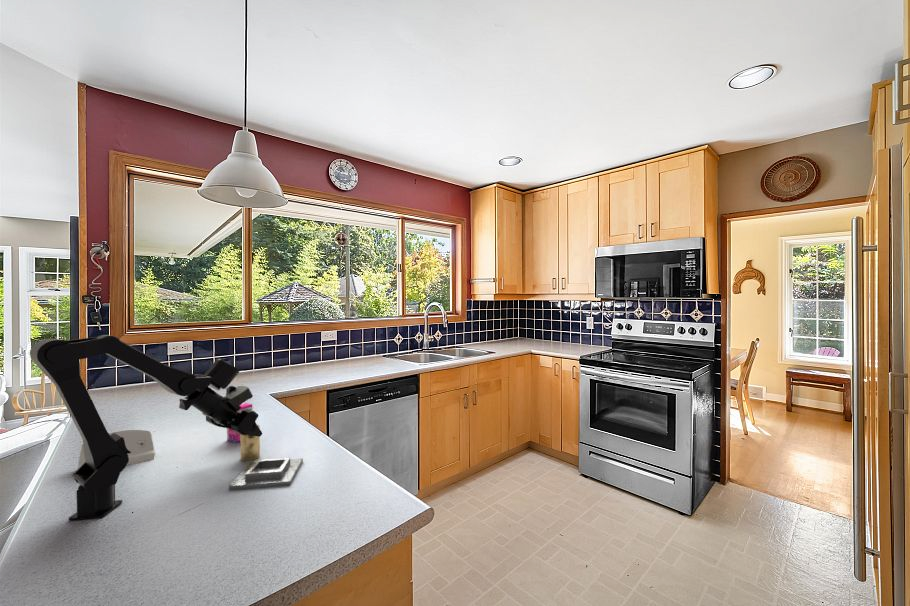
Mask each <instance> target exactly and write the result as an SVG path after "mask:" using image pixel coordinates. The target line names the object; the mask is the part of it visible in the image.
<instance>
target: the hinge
mask: <svg viewBox="0 0 910 606" xmlns="http://www.w3.org/2000/svg"><path fill="white" fill-rule="evenodd" d="M108 433H109V435H111V434H113V433H115V434H117V435H119V436H121V437H123V438H124V441H125V446H126V448H127V449H128V450H129V451H130V452H131V453H129V454H127V455H128V457H129V462H128V464H127V465H128V466H129V465H133V464H138V463H143V462H148V461H153V460H155V455H156V449H155V445H154V440H153V433H152V432H151V431H150V430H145V429H124V430H117V431H111V432H108ZM78 459H79V460H78V463H77V468H76V469H77V470H78V469H79V468H80V467H81V466H82V465H83V464H84V463H85V462H86V460H85V456H84V449H83V443H82V445H81V448H80V453H79V457H78ZM127 465H126V466H127ZM77 470H76V471H77Z"/></svg>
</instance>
